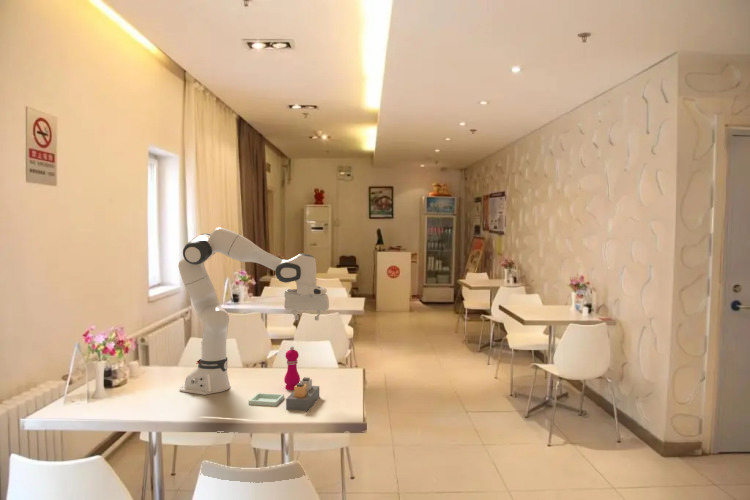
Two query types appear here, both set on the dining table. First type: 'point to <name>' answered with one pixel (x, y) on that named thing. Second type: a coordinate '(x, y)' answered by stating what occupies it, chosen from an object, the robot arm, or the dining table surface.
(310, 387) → the twin plug
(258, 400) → the tray
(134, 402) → the dining table surface
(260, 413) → the dining table surface
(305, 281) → the robot arm
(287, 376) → the pepper mill
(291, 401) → the socket strip
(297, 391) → the plug
